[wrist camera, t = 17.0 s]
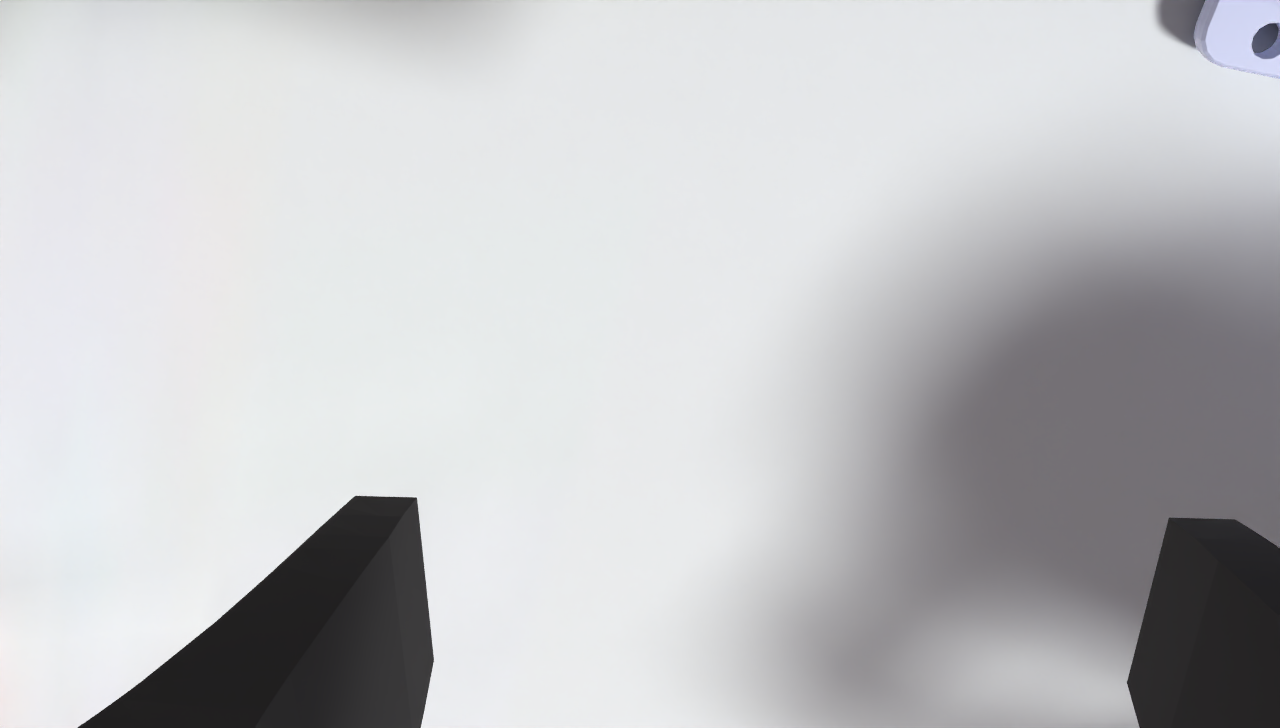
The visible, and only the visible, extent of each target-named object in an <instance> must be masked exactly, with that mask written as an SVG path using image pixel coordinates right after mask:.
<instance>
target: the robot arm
mask: <svg viewBox="0 0 1280 728" xmlns="http://www.w3.org/2000/svg"><path fill="white" fill-rule="evenodd" d="M1269 23H1276V24H1277V26H1278V28H1279V31H1278V37H1277V40H1276V41H1275V42H1274V44H1273V45H1272V46H1271V47H1270V48H1268V49H1267V50H1265V51H1263V52H1257V53H1254V52H1253V50H1252V48H1251V46H1252V40H1253V37H1254V35H1255V34H1256V33H1257V31H1258V30H1259V29H1260V28H1262V27H1263V26H1265V25H1267V24H1269ZM1194 40H1195V44H1196V48H1197V49H1198V51H1199V52H1200V53H1201V54H1202V56H1203V57H1204V58H1206V59H1207V60H1209V61H1210V62H1212V63H1214V64H1217V65H1219V66H1221V67H1225V68H1230V69H1235V70H1239V71H1244V72H1249V73H1254V74H1259V75H1264V76H1269V77H1274V78H1278V79H1280V0H1205V3H1204V5H1203V8H1202V10H1201V12H1200V15H1199V17H1198V20H1197V22H1196V27H1195V32H1194ZM433 662H434V657H433V648H432V638H431V629H430V619H429V609H428V600H427V590H426V581H425V571H424V562H423V552H422V542H421V533H420V523H419V514H418V504H417V498H412V497H375V496H355V497H354V498H352V499H351V500H350V501H349V502H348V503H347V504H346V505H345V506H343V507H342V508H341V509H340V510H339V511H338V512H337V513H336V514H335V515H333V516H332V517H331V518H330V519H329V520H328V521H327V522H326V523H325V524H323V525H322V526H321V527H320V528H319V529H318V530H317V531H316V532H315V533H314V534H313V535H312V536H310V537H309V538H308V539H307V540H306V541H305V542H304V543H303V544H302V545H301V546H300V547H299V548H298V549H296V550H295V551H294V552H293V553H292V554H291V555H290V556H289V557H288V558H287V559H286V560H285V561H283V562H282V563H281V564H280V565H279V566H278V567H277V568H276V569H275V570H274V571H273V572H271V573H270V574H269V575H268V576H267V577H266V578H265V579H264V580H263V581H262V582H260V583H259V584H258V585H257V586H256V587H255V588H254V589H252V590H251V591H250V592H249V593H248V594H247V595H246V596H245V597H243V598H242V599H241V600H240V601H239V602H238V603H237V604H235V605H234V606H233V607H232V608H231V609H230V610H229V611H228V612H226V613H225V614H224V615H223V616H222V617H221V618H220V619H218V620H217V621H216V622H215V623H214V624H213V625H211V626H210V627H209V628H208V629H206V630H205V631H204V632H203V633H201V634H200V635H199V636H198V637H196V638H195V639H194V640H193V641H191V642H190V643H189V644H188V645H186V646H185V647H184V648H183V649H182V650H180V651H179V652H178V653H177V654H175V655H174V656H173V657H172V658H170V659H169V660H168V661H167V662H165V663H164V664H163V665H162V666H160V667H159V668H158V669H157V670H155V671H154V672H153V673H152V674H150V675H149V676H148V677H147V678H145V679H144V680H143V681H142V682H140V683H139V684H138V685H136V686H135V687H134V688H132V689H131V690H130V691H128V692H127V693H126V694H124V695H123V696H122V697H120V698H119V699H118V700H116V701H115V702H113V703H112V704H111V705H109V706H108V707H106V708H105V709H104V710H102V711H101V712H99V713H98V714H97V715H95V716H94V717H92V718H91V719H90V720H88V721H87V722H85V723H84V724H82V725H81V726H79V727H78V728H421V723H422V719H423V714H424V709H425V704H426V698H427V693H428V688H429V683H430V677H431V672H432V667H433ZM1127 684H1128V688H1129V691H1130V695H1131V698H1132V702H1133V705H1134V709H1135V713H1136V716H1137V720H1138V723H1139V727H1140V728H1280V548H1278V547H1277V546H1275V545H1274V544H1273V543H1271V542H1270V541H1268V540H1267V539H1265V538H1264V537H1262V536H1261V535H1259V534H1257V533H1256V532H1254V531H1253V530H1251V529H1250V528H1248V527H1246V526H1245V525H1243V524H1241V523H1240V522H1238V521H1236V520H1233V519H1196V518H1169V520H1168V524H1167V528H1166V532H1165V536H1164V540H1163V544H1162V548H1161V551H1160V555H1159V559H1158V563H1157V567H1156V571H1155V575H1154V579H1153V583H1152V587H1151V591H1150V595H1149V599H1148V602H1147V606H1146V610H1145V614H1144V618H1143V622H1142V626H1141V630H1140V634H1139V638H1138V642H1137V646H1136V650H1135V654H1134V657H1133V661H1132V665H1131V669H1130V673H1129V677H1128V681H1127Z"/></svg>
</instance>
